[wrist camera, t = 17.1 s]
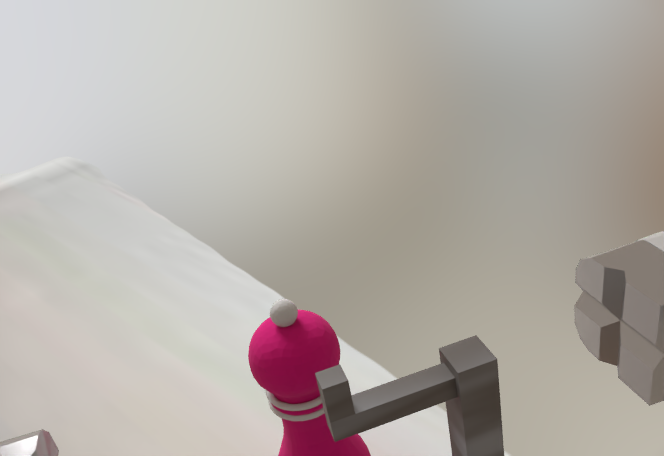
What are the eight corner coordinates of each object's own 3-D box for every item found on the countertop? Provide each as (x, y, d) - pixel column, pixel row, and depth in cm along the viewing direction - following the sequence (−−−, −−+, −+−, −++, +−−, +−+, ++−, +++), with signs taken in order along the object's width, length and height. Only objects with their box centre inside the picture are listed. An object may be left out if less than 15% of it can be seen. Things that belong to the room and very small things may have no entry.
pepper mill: (398, 530, 47) (355, 311, 38) (306, 573, 45) (237, 353, 36) (361, 462, 53) (316, 258, 44) (279, 496, 51) (214, 293, 42)
